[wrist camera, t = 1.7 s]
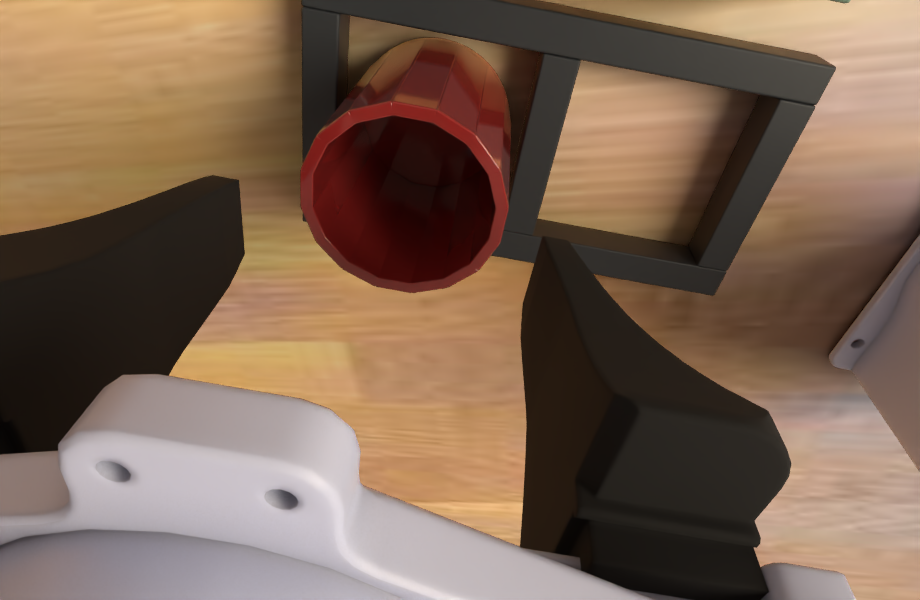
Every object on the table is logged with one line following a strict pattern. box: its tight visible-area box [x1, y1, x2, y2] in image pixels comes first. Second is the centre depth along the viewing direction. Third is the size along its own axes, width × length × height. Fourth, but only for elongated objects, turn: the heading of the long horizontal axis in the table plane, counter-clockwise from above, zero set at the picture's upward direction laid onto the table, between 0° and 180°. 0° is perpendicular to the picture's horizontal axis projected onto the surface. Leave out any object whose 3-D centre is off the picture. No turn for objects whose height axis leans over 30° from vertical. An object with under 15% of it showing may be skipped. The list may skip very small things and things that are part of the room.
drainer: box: [301, 0, 836, 296], centre depth 20 cm, size 9×16×2 cm, turn 81°
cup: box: [300, 37, 511, 293], centre depth 18 cm, size 6×6×7 cm
